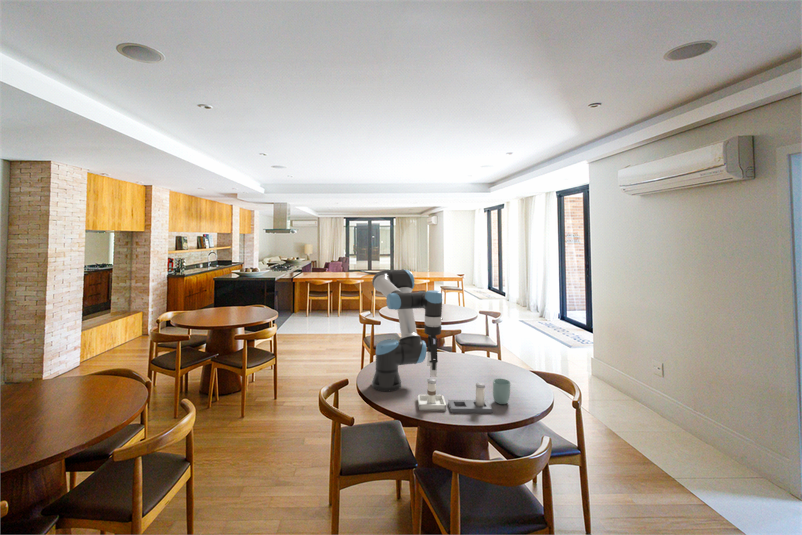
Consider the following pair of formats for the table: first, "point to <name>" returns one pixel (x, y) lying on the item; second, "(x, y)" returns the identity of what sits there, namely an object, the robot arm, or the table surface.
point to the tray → (424, 406)
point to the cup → (501, 391)
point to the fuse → (480, 394)
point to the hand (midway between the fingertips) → (431, 370)
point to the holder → (469, 406)
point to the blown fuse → (431, 391)
